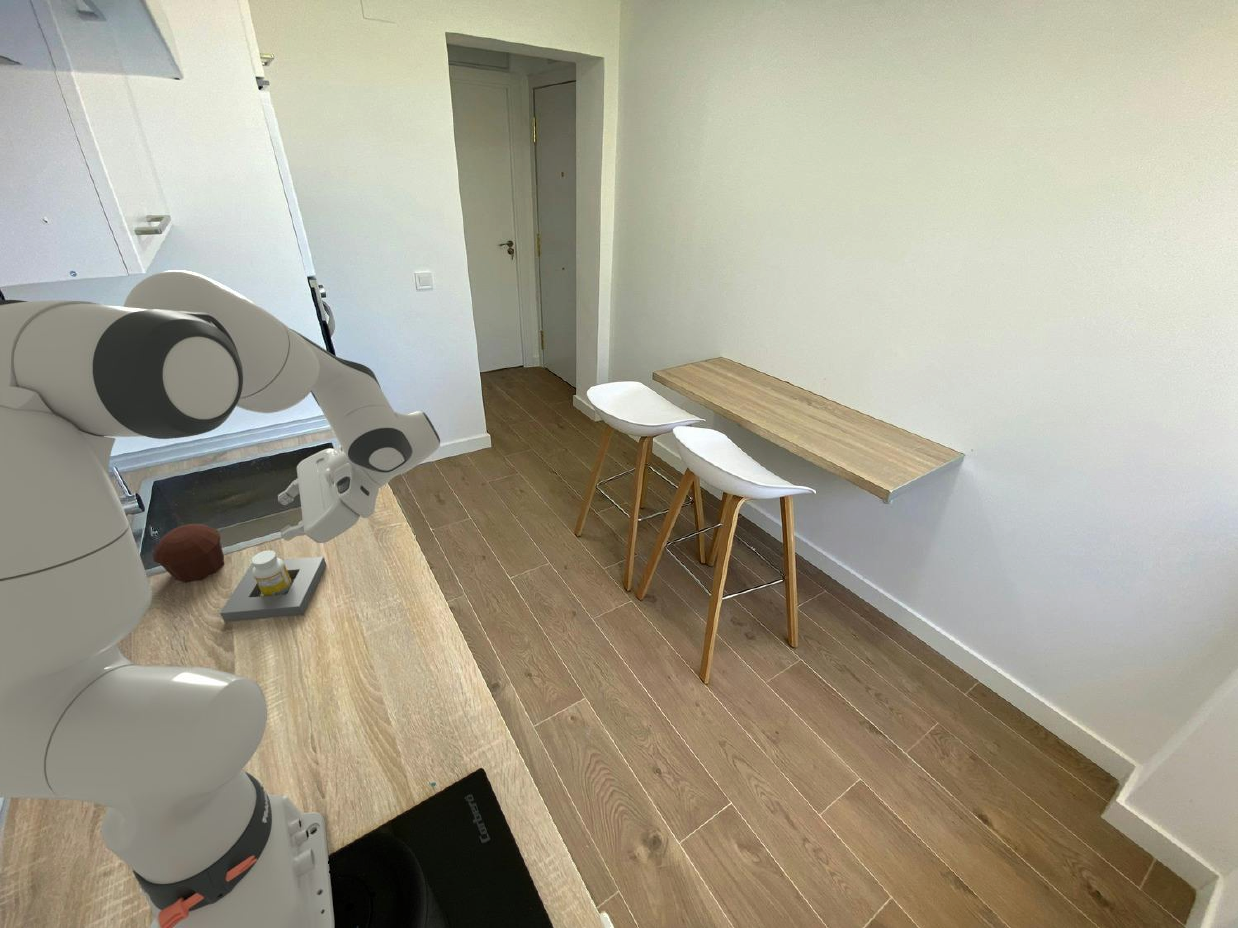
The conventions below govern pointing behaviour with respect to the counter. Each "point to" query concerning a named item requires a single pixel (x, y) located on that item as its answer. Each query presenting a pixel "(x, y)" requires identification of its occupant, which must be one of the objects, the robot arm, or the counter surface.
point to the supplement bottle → (271, 574)
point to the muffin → (190, 552)
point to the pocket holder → (291, 604)
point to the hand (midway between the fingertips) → (281, 517)
